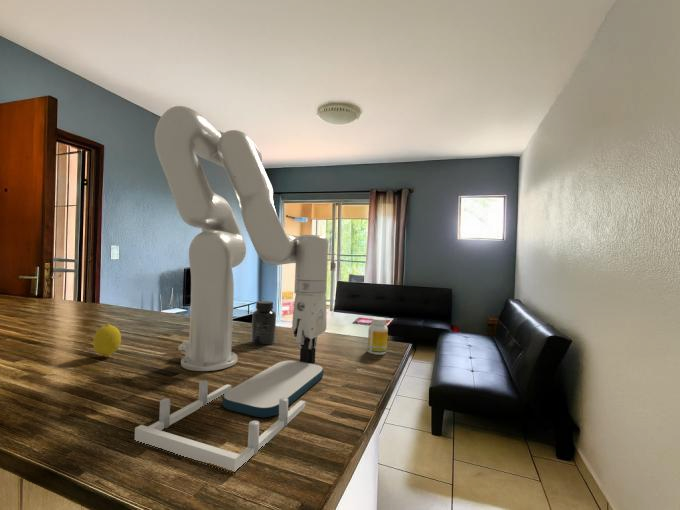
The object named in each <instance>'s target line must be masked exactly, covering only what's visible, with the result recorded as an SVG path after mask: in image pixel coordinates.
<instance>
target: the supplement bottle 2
mask: <svg viewBox="0 0 680 510" xmlns="http://www.w3.org/2000/svg"><path fill="white" fill-rule="evenodd" d="M386 324H387V319H386V318H385V317H380V316H374V317H371V324H370V325H369V326H368V335H367V337H368V339H367V352H368V353H369V354H372V355H378V356H381V355H386V354H387V350H388V335H389V334H388V333H389V329H388V326H387V325H386Z"/></svg>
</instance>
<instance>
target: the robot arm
mask: <svg viewBox="0 0 680 510" xmlns="http://www.w3.org/2000/svg"><path fill="white" fill-rule="evenodd" d="M154 131H155V132H154V146H155V151H156V154H157V158H158V160H159V162H160V166H161V168H162V170H163V172H164V175H165V178H166V180H167V183H168V186H169V189H170V191H171V194H172V198H173V200H174V203H175V205H176V207H177V210H178V213H179V216H180V217H181V220H182V221H183V222H184V223H185V224H187V225H188V226H190V227H192V228H193V227H194V228H197V229H201V232H199V233H198V234H197V235H196V236H194V238H193V239H192V240H191V243H190V245H189V248H188V262H189V270H190V313H189V337H188V339H189V340H187V339H184V340H183V341H182V342H181V344H179V345H178V347H177V349H178V350H179V351H181V352H182V351H183V352H185V355H184V356H183V357H182V358H181V360H180V366H181V367H182V368H183V369H185V370H188V371H193V372H211V371H219V370H223V369H224V370H225V369H227V368H230V367H232V366H234V365H236V363H237V362H238V354H236V353H235V352H233V351H232V345H233V344H232V340H233V321H234V320H233V319H234V317H233V316H234V298H235V297H234V290H235V288H234V286H235V285H234V284H235V283H234V273H233V268H236V267H238V266H239V265H240V264H242V262H243V261H244V259H245V257H246V254H247V246H246V242H245V240H244V237H243V236H244V235H243V234H242V231H241V229H240V226H239V223H238V220H237V219H236V217H235V213H234V211H233V209H232V207H231V205H230V203H229V202H228V201H227V200H226V199H225V197H223V196H221V195H220V194H217V193H215V192H214V191H213V190H212V188H211V186H210V183H209V181H208V179H207V177H206V172H205V170H204V167H203V166H202V164H201V162H200V160H199V158H198V157H200V158H202V159H204V160H205V161H209V162H211V163H214V164H215V165H218V166H220V167H223V168H224V170H225V173H226V175H227V178H228V179H229V181H230V183H231V186H232V188H233V190H234V193H235V195H236V197H237V200H238V203H239V211H240V213H241V216H242V217H241V219H242V221H243V224H244V226H245V230H246V232H247V234H248V237H249V240H250V241H251V244H252V246H253V247H254V250H255V251H256V254H257V255H258V257H259V259H261V261H263V262H264V263H266V264H267V265H271V266H280V265H282V266H283V265H289V264H295V268H294V271H295V273H294V290H293V291H294V294H295V297H294V302H293V311H292V312H293V313H292V327H291V329H292V335H293V337H295V344H297V345H299V349H300V353H299V354H300V355H299V362H305V363H310V364H316V347H317V343H318V342H317V341H318V336H321V335H322V334H323V333H325V332H326V330H327V296H326V295H327V285H328V284H327V283H328V281H327V280H328V279H327V278H328V260H329V259H328V258H329V257H328V256H329V240H328V238H327V237H326V236H323V235H318V234H317V235H316V234H301V235H292V234H289V233H286V231H285V229H284V227H283V225H282V223H281V220H280V217H279V216H278V214H277V211H276V208H275V205H274V197H273V196H274V189H273V185H272V182H271V181H270V179H269V177H268V174H267V172H266V170H265V167H264V165H263V157H262V153H261V150H260V149H259V147H258V146H257V145H256V143H255V142H254V141H253V140H252V139H251V138H250V137H249V136H248V135H247V134H246V133H245V132H243V131H240V130H237V129H231V130H227V131H225V132H223V131H221V130H219V129H217V128H216V127H215V126H214V125H213V124H211V123H210V122H209V120H207V119H206V118H205V117H204V116H203V115H202V114H200V113H199V112H197V111H196V110H194V109H192V108H190V107H187V106H183V105H176V106H173V107H170V108H169V109H167V110H166V111H164V113H163V114H162V115H161V116H160V117H159V120H158V122H157V123H156V127H155V130H154Z"/></svg>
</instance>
